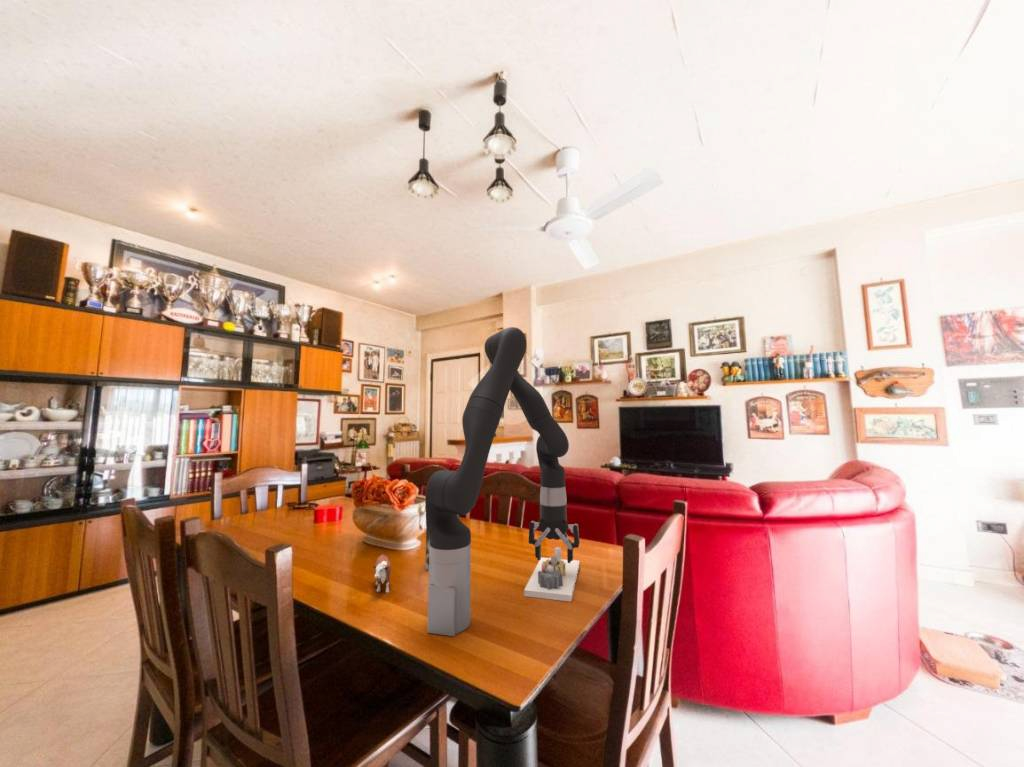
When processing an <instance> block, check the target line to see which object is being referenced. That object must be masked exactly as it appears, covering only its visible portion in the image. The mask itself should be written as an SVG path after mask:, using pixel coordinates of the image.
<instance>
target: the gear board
mask: <svg viewBox="0 0 1024 767" xmlns="http://www.w3.org/2000/svg"><path fill="white" fill-rule="evenodd" d="M547 559H549V560H551V565H557V560H560V561H564V563H565V564H566V575H565V576H564V575H563V573H561V570H555V569H554V566H551V565H549V566H547V569H545V564H544V563H543V561H544V562H545V561H547ZM580 562H581V561H580V560H575V559H573V560H572V561H571V562H570V563H568V560H567V559H563V558H562V548H561V547H558V546H557V547H555V548H554V556H551V557H542V556H541V559H540V560H538V562H537V565H536V566H535V568H534V571H533V572H532V574H531V576H530V578H529V580H528V581H527V584H526V585H525V588H523V589H524V590H523V593H524V594H523V595H524V596H523V597H527V598H529V597H530V598H537V599H544V600H554V601H563V602H570V603H571V602H572V601H573V596H574V591H575V587H576V584H577V583H576V582H577V579H578V575H577V574H579V571H578V570H580V566H579V565H580ZM575 583H576V584H575Z"/></svg>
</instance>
